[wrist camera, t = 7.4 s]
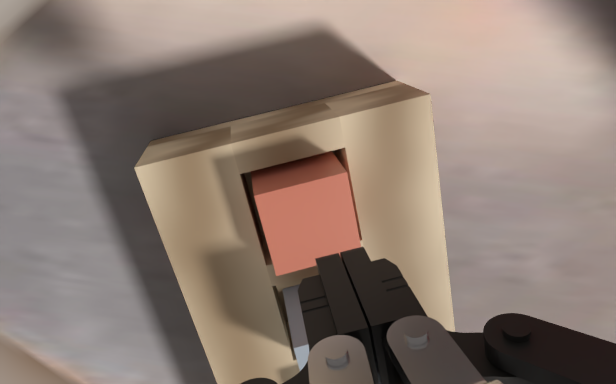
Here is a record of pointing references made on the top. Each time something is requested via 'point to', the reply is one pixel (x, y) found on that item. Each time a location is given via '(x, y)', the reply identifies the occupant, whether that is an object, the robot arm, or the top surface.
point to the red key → (305, 211)
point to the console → (248, 228)
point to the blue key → (296, 325)
